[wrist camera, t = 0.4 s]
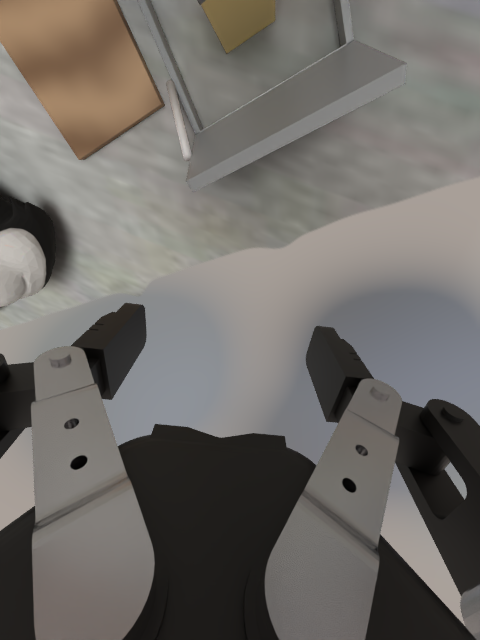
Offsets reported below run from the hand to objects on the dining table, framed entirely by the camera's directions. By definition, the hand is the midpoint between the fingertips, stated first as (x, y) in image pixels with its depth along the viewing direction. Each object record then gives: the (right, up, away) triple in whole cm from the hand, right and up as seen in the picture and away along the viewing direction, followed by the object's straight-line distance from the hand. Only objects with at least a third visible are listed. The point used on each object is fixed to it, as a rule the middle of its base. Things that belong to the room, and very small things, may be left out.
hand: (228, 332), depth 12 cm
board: (-16, +27, +13) cm, 34 cm away
